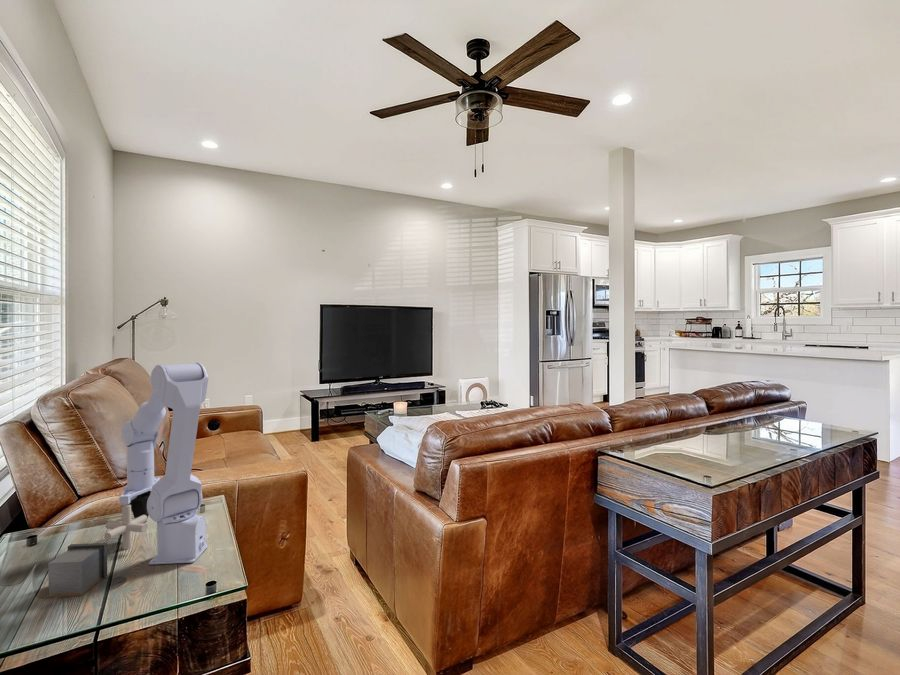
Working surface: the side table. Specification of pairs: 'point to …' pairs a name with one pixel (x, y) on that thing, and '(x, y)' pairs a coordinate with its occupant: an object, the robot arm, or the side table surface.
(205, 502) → the side table surface
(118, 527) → the pipe connector
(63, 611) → the side table surface
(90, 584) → the duct stub
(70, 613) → the side table surface
